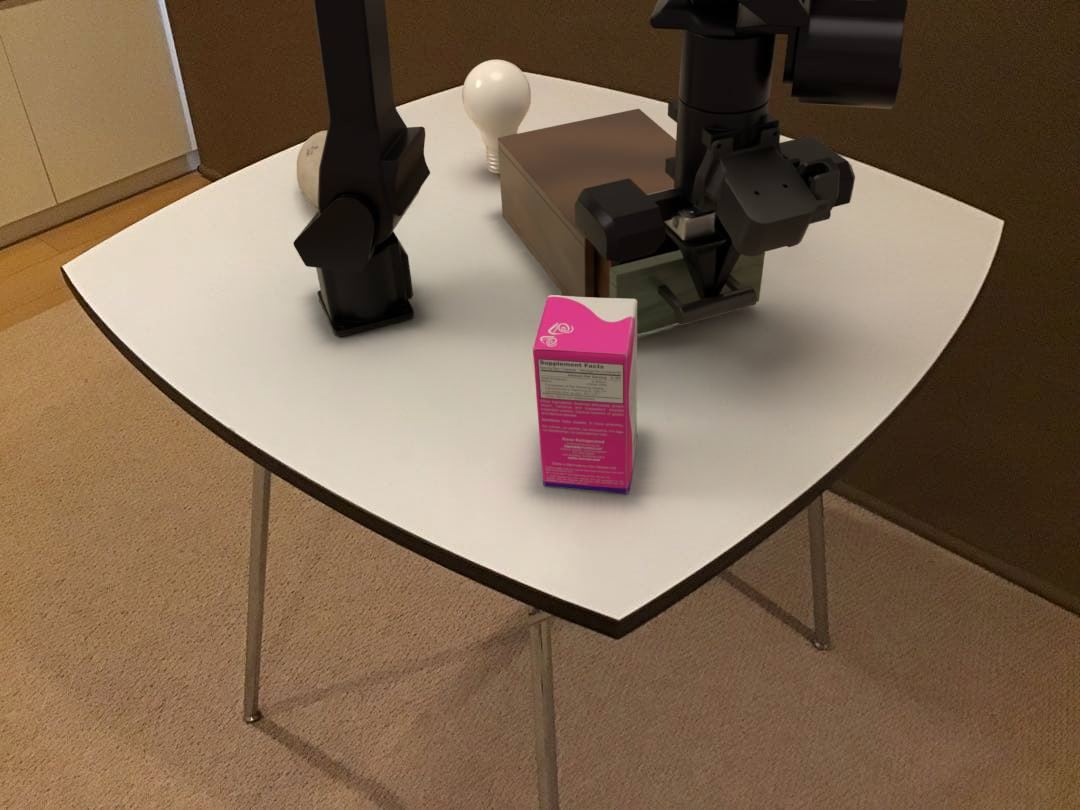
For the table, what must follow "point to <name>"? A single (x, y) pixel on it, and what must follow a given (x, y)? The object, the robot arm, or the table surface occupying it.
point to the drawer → (674, 287)
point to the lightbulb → (496, 103)
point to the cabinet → (575, 184)
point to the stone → (310, 166)
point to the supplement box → (587, 392)
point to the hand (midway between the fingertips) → (707, 300)
